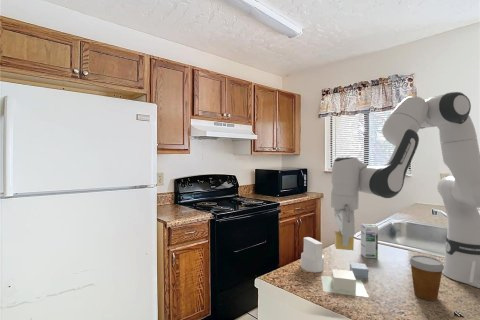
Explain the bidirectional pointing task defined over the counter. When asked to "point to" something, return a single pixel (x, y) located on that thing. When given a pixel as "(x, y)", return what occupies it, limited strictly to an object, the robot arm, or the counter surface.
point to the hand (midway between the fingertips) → (343, 242)
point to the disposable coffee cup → (426, 276)
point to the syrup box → (369, 240)
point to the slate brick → (359, 270)
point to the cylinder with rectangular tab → (312, 255)
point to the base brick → (343, 280)
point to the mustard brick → (339, 242)
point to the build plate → (329, 288)
